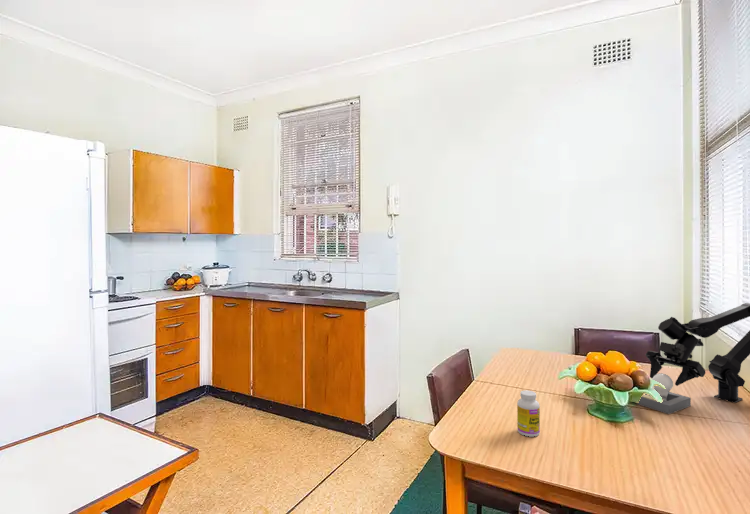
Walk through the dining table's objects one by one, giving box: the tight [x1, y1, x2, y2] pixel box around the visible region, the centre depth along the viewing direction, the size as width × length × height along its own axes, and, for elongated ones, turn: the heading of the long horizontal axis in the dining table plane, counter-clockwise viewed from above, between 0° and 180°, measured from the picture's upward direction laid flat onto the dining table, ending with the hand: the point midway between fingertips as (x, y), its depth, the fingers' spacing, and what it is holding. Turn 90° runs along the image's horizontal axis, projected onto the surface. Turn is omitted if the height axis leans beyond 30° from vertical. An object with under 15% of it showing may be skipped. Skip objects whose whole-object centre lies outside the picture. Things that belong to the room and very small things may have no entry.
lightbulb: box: [651, 372, 674, 401], centre depth 151 cm, size 6×6×11 cm
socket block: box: [637, 387, 692, 415], centre depth 151 cm, size 14×13×3 cm
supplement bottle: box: [516, 389, 541, 438], centre depth 131 cm, size 7×7×13 cm
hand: (663, 381), depth 151 cm, fingers open, 9 cm apart
